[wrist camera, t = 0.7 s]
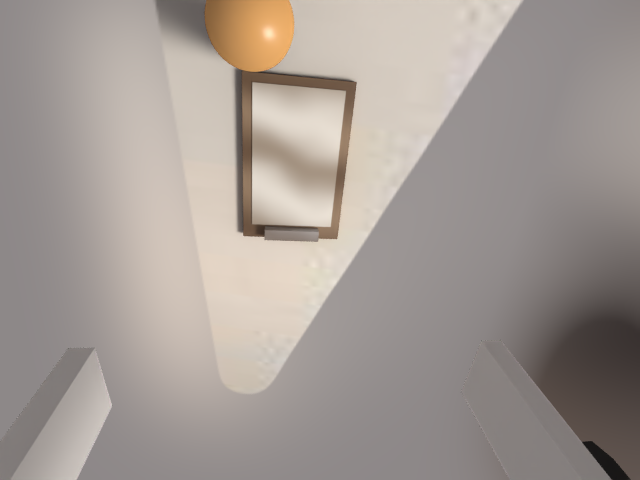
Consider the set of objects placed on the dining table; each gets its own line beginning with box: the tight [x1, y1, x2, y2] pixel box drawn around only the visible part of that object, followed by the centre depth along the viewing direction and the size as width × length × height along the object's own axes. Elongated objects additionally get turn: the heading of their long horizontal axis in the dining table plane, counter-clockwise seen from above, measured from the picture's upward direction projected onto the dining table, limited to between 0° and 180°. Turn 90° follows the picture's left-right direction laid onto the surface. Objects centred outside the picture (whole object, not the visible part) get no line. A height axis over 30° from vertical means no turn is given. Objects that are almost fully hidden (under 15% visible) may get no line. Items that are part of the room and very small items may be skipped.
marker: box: [205, 0, 294, 72], centre depth 20 cm, size 4×4×13 cm
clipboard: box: [242, 71, 357, 242], centre depth 30 cm, size 14×9×2 cm, turn 175°
